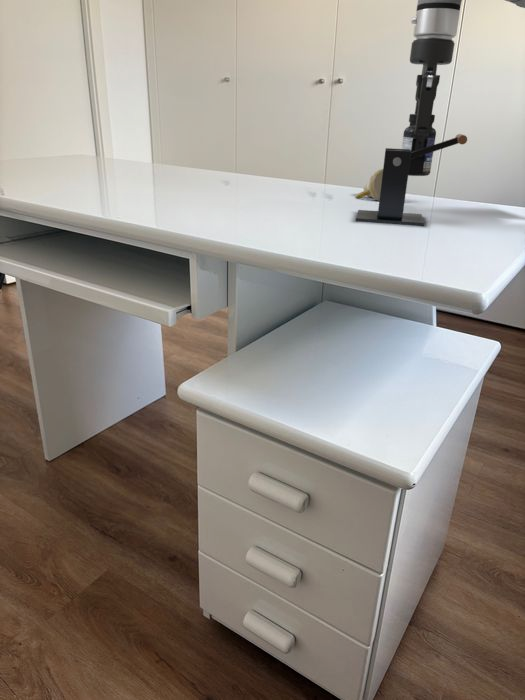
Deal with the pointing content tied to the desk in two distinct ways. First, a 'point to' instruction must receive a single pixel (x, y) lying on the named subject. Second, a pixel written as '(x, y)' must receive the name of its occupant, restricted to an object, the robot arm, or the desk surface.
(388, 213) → the bracket
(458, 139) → the lever
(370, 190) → the tan rounded piece
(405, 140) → the pill bottle
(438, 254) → the desk surface
